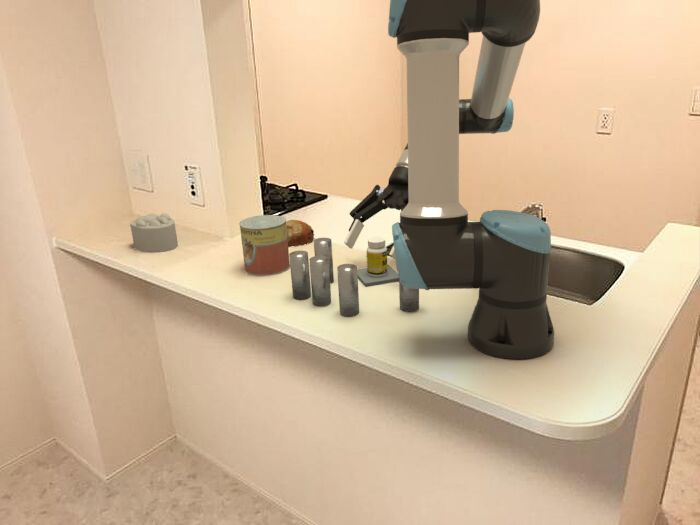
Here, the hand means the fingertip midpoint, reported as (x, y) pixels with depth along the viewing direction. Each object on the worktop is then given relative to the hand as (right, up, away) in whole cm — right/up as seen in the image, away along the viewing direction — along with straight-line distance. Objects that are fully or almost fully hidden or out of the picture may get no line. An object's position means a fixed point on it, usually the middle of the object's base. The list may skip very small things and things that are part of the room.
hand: (369, 251), depth 136 cm
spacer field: (-5, -10, -6) cm, 12 cm away
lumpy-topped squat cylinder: (-59, +2, +34) cm, 68 cm away
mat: (+2, -6, +4) cm, 7 cm away
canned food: (-25, -4, +13) cm, 29 cm away
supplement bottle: (+2, -5, +4) cm, 7 cm away
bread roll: (-20, +3, +32) cm, 38 cm away
